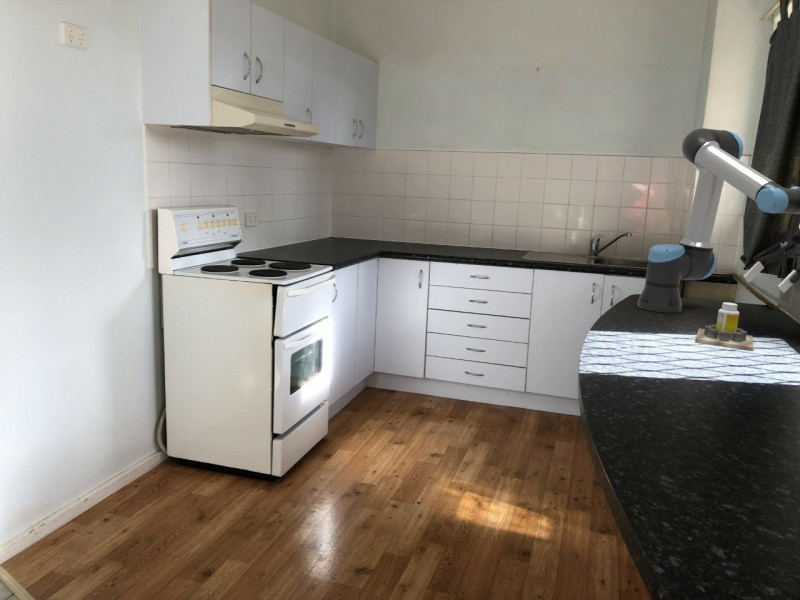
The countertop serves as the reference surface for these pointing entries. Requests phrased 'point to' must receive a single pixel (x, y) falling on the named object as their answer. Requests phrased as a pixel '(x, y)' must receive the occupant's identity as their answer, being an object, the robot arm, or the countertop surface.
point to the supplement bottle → (727, 319)
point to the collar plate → (723, 343)
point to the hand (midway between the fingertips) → (762, 284)
